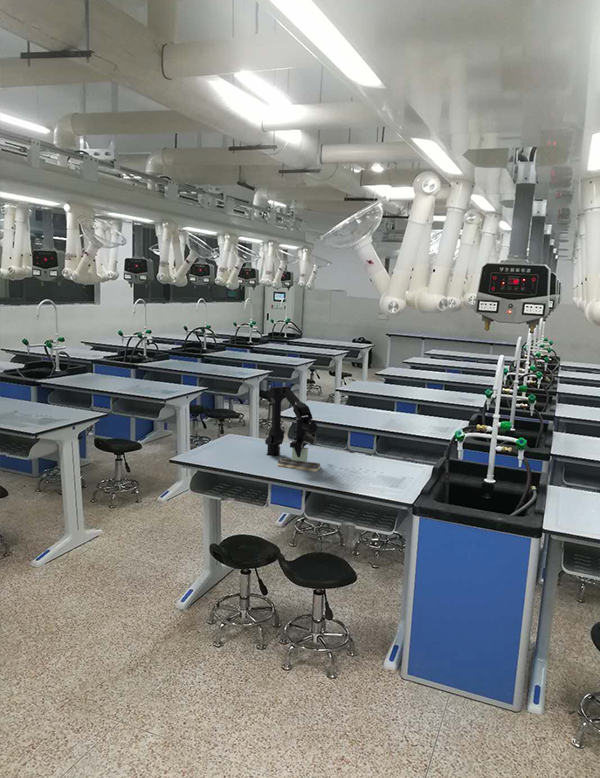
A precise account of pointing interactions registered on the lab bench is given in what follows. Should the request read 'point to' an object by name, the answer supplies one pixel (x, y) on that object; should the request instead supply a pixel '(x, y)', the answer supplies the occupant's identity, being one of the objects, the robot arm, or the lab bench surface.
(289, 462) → the track
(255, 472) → the lab bench surface
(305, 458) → the door panel
